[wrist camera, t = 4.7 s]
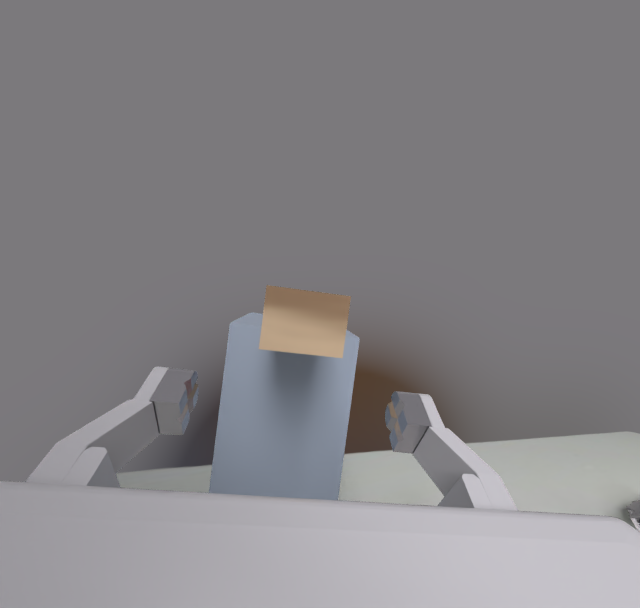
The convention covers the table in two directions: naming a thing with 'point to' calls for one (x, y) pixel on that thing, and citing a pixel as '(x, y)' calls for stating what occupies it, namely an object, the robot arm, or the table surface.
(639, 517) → the tabbed white plastic disc
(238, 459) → the stand
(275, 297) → the batten
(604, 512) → the table surface
